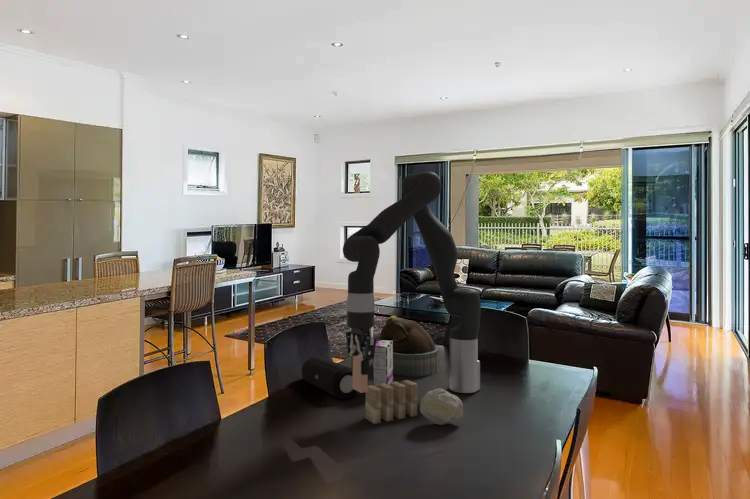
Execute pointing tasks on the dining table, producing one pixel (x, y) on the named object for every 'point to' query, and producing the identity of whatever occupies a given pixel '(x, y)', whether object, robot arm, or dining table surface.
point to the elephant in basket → (410, 348)
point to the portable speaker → (329, 377)
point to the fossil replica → (441, 406)
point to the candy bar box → (383, 363)
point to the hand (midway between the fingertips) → (360, 371)
